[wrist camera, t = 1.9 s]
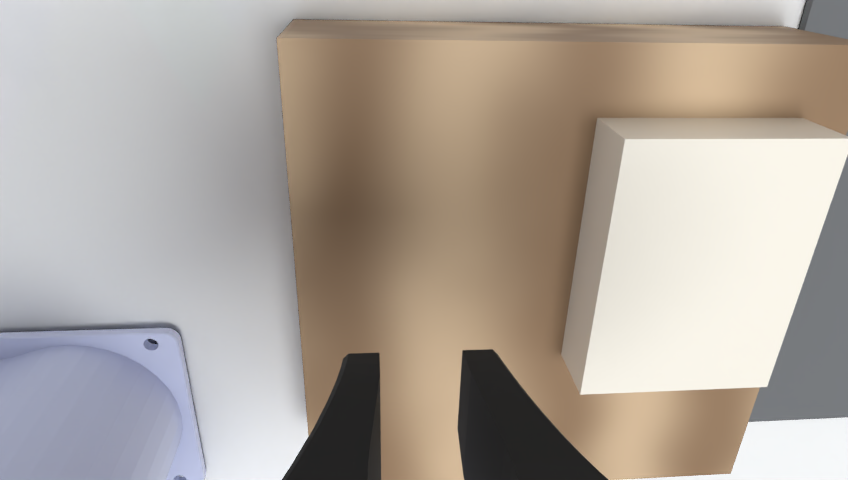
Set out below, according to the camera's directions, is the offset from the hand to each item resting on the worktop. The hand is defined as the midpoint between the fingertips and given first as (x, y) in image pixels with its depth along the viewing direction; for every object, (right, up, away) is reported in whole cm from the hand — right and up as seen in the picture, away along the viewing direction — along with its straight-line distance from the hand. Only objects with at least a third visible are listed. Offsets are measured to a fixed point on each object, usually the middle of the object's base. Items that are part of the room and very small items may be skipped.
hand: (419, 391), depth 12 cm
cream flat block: (+8, +3, +6) cm, 11 cm away
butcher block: (+4, +3, +11) cm, 12 cm away
